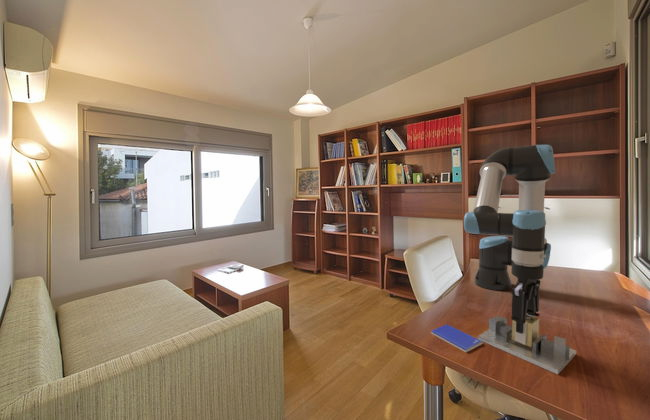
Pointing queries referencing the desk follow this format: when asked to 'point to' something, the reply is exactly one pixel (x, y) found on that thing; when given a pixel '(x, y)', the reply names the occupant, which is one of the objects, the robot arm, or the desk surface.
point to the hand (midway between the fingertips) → (524, 338)
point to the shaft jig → (540, 353)
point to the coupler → (529, 330)
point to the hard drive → (456, 338)
